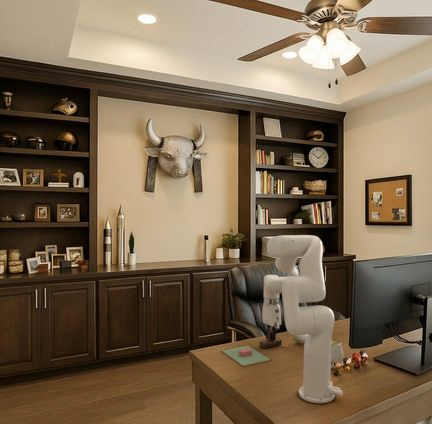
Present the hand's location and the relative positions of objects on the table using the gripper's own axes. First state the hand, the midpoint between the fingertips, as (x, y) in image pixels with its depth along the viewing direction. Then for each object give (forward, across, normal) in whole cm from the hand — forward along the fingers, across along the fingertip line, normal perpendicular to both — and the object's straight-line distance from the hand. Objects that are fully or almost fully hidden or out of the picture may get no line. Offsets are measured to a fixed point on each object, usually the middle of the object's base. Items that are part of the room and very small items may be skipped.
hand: (270, 339), depth 187 cm
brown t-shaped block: (+3, 0, 0) cm, 3 cm away
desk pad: (+4, -4, +16) cm, 17 cm away
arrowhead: (+4, -34, -10) cm, 36 cm away
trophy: (+4, -16, -15) cm, 22 cm away
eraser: (+3, -4, +16) cm, 17 cm away
